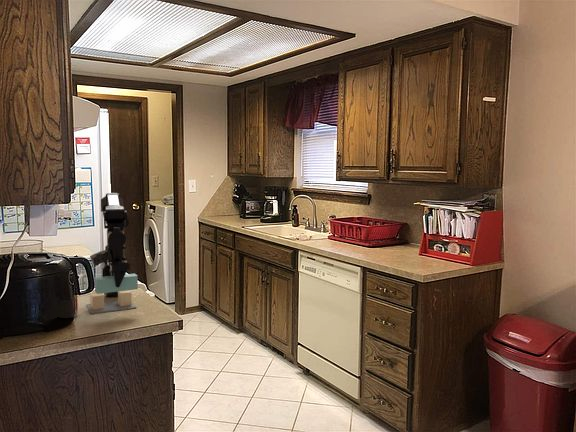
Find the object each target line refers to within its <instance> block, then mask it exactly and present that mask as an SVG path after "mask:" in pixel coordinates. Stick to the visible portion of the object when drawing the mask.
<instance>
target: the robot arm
mask: <svg viewBox="0 0 576 432" xmlns="http://www.w3.org/2000/svg"><path fill="white" fill-rule="evenodd" d="M100 212H101V213H102V217H103V228H104V229H106V242H107V243H106V246H105V248H104V250H101V251H98V252H96V253H93V254H92V255H89V258H90V260H91V262H92V263H91V264H93V266H94V267H97V266H99V265H100V264H103V267H102V268H101V273H102V274H101V277H104V276H114V279H115V284H116V287H120V285H121V282H122V280H123V278H124V276H125V274H127V272H128V271H131V267H132V266H131V263H129V261H127V259H126V258H127V257H126V256H125V250H126V245H125V244H126V241H127V237H126V234H125V229H128V226H129V225H130V219H129V213H128V212H127V210H125V207H124V199H123V197H121V196H120V193H118V192H107V193H105V196H104V197H102V198H101V199H100ZM103 295H104V297H106V298H113V297H118V292H109V293H103Z"/></svg>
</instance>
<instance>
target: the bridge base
mask: <svg viewBox="0 0 576 432" xmlns="http://www.w3.org/2000/svg"><path fill="white" fill-rule="evenodd" d="M89 294H90V303H86V307H87V309H88V311H89V313H90V314H91V315H94V314H95V315H97V314H103V313H110V312H118V311H125V310H134V309H137V306H136V305H135V304H134V303H133V299H132V290H127V291H118V296H117V300H110V301H105V294H104V293H100V294H97V293H96V292H91V293H89Z"/></svg>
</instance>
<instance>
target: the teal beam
mask: <svg viewBox="0 0 576 432" xmlns="http://www.w3.org/2000/svg"><path fill="white" fill-rule="evenodd" d="M138 279H139V278H138V275H137V274H136V273H126V274H125V276H124V278H123V280H122V282H121V285H120V287H116V284H115V279H114V276H104V277H102V276H95V277H94V291H95V292H94V293H97V294H100V293H103V294H104V293H109V292H118V291H127V290H130V291H133V290H136V291H137V290H139V289H138V288H139V287H138V285H139V282H138V281H139V280H138Z"/></svg>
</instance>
